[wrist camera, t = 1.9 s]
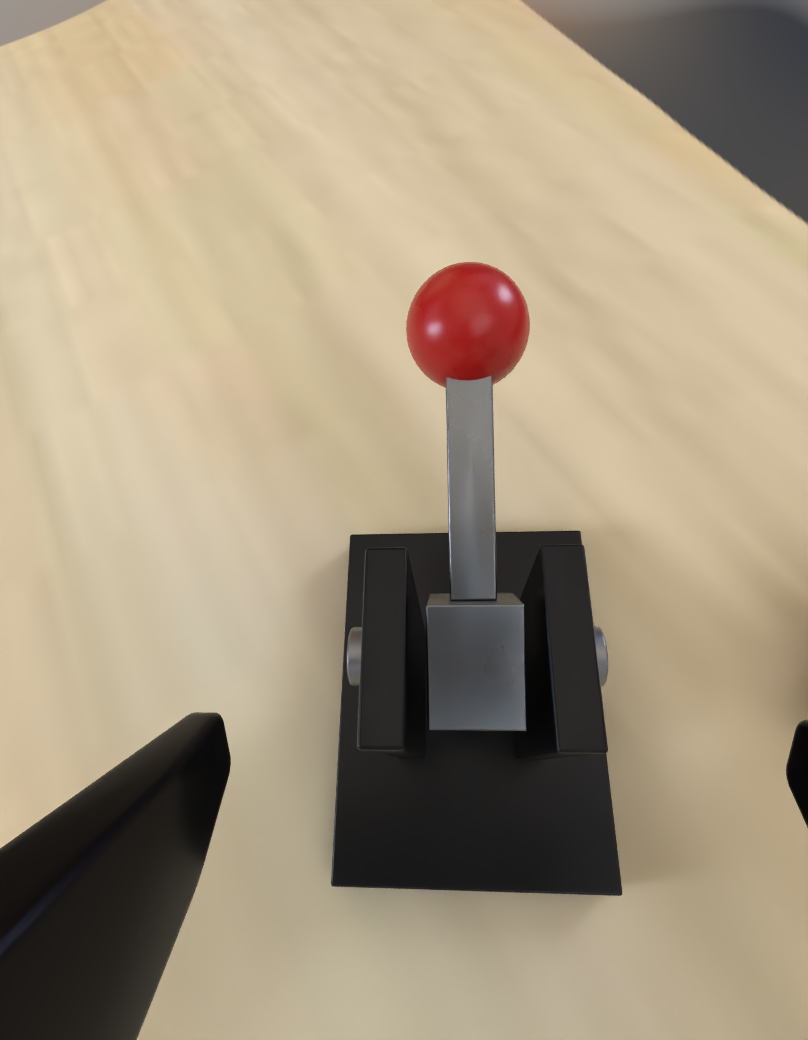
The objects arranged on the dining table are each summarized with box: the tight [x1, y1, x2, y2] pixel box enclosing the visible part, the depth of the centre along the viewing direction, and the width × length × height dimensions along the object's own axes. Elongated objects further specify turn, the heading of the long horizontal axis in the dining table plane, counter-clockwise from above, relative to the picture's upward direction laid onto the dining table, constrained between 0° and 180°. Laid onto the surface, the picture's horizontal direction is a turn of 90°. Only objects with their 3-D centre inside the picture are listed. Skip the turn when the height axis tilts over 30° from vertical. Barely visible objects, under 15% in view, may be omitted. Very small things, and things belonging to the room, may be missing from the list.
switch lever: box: [406, 262, 530, 731], centre depth 14 cm, size 11×3×3 cm, turn 0°
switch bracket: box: [331, 531, 622, 896], centre depth 17 cm, size 12×9×10 cm
